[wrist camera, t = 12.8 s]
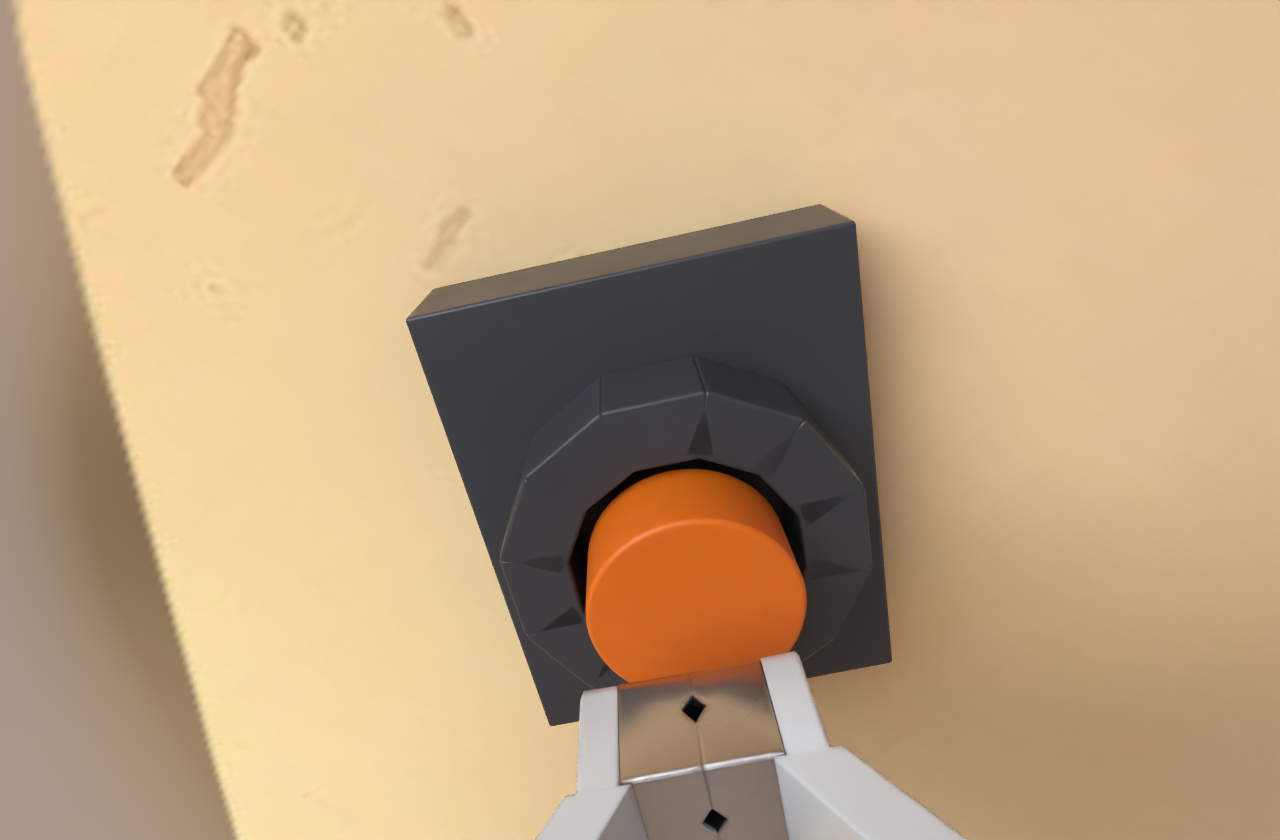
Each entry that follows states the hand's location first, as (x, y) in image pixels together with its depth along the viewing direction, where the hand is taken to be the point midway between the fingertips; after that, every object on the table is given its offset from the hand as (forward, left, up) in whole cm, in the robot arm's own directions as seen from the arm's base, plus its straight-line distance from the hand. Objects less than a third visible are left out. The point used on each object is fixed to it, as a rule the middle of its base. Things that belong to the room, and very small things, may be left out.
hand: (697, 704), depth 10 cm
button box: (0, 0, -7) cm, 7 cm away
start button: (0, 0, -4) cm, 4 cm away
